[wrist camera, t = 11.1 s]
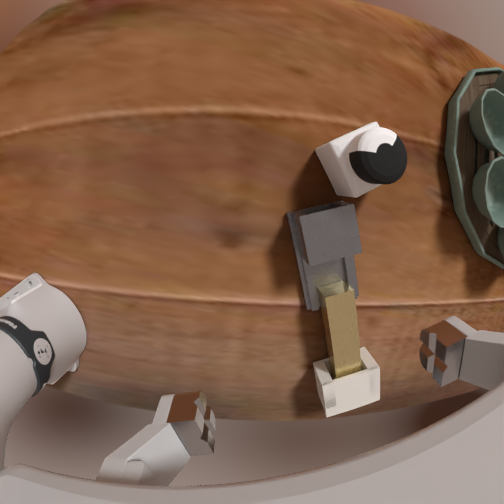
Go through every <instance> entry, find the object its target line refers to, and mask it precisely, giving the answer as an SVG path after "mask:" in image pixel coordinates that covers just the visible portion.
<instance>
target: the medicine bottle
mask: <svg viewBox="0 0 504 504" xmlns="http://www.w3.org/2000/svg"><path fill="white" fill-rule="evenodd" d="M315 152H316V154H317V156H318V158H319V160H320V162H321V164H322V166H323V168H324V170H325V172H326V174H327V176H328V178H329V180H330V182H331V184H332V186H333V188H334V190H335V192H336V194H337V195H338V196H346V197H355V198H357V197H359V196H361V195H363V194H365V193H367V192H368V191H370V190H372V189H374V188H376V187H378V186H380V185H382V184H391V183H394V182H396V181H397V180H398V179H400V177H401V176H402V175H403V173H404V171H405V169H406V166H407V153H406V149H405V146H404V144H403V142H402V140H401V139H400V138H399V137H398V136H397V135H396V134H395V133H394V132H392V131H391V130H389V129H386V128H381V127H379V125H378V123H377V122H373V123H370V124H368V125H366V126H363V127H361V128H359V129H357V130H354V131H352V132H350V133H348V134H346V135H343V136H341V137H339V138H337V139H335V140H332V141H330V142H328V143H326V144H324V145H322V146H320V147H318V148H316V149H315Z"/></svg>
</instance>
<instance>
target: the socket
mask: <svg viewBox="0 0 504 504" xmlns="http://www.w3.org/2000/svg"><path fill="white" fill-rule="evenodd" d="M360 357H361V371H359V372H356V373H353V374H350V375H347V376H344V377H341V378H338V379H334V380H333V379H332V377H331V373H330V364H329V358H326V359H323V360H319V361H316V362H313V367H314V373H315V379H316V385H317V390H318V395H319V397H320V400H321V403H322V406H323V408H324V411H325V414H326V417H329V416H333V415H336V414H339V413H343V412H346V411H349V410H352V409H355V408H358V407H361V406H364V405H366V404H369V403H372V402H375V401H377V400H380V367H379V366H378V364H377V363H376V362H375V360H374V359H373V358H372V356H371V355H370V353H369V352H368V351H367V349H366V348H365V347H362V348H360Z"/></svg>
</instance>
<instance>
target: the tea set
mask: <svg viewBox="0 0 504 504" xmlns="http://www.w3.org/2000/svg"><path fill="white" fill-rule="evenodd" d="M444 155H445V160H446V165H447V169H448V175H449V180H450V185H451V191H452V198H453V205H454V211H455V212H456V214H457V216H458V218H459V220H460V222H461V224H462V226H463V228H464V230H465V231H466V233H467V236H468V238H469V240H470V242H471V244H472V246H473V248H474V250H475V252H476V253H477V254H478V255H480V256H482V257H483V258H485V259H487V260H488V261H490V262H492V263H493V264H495V265H497V266H498V267H500V268H502V269H504V70H502V69H501V68H499V67H496V68H483V69H473V70H471V71H468V73H467V74H466V76H465V78H464V79H463V81H462V83H461V84H460V86H459V87H458V89H457V91H456V92H455V94H454V95H453V97H452V98H451V100H450V102H449V103H448V119H447V132H446V142H445V151H444Z"/></svg>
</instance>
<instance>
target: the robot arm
mask: <svg viewBox="0 0 504 504" xmlns="http://www.w3.org/2000/svg"><path fill="white" fill-rule="evenodd" d="M31 282H32V284H31ZM420 340H421V341H422V342H423V344H422V346H421V348H420V360H421V364H422V365H423V367H424V368H425V370H426V371H428V372H432V373H433V378H434V380H435V381H436V382H437V383H438V384H439V385H440V386H441V387H442V386H444V385H446V384H448V383H450V382H452V381H454V380H456V379H458V378H459V379H460V380H463V381H466V382H468V383H471V384H474V385H477V386H480V387H482V388H485V389H488V390H490V391H488V392H487V393H485V394H484V395H482V396H481V397H479V398H478V399H476V400H475V401H473V402H471V403H470V404H468V405H467V406H465V407H463V408H461V409H460V410H458V411H456V412H455V413H453V414H451V415H449V416H447V417H445V418H444V419H442V420H440V421H438V422H436V423H434V424H432V425H430V426H428V427H426V428H424V429H422V430H420V431H418V432H416V433H413V434H411V435H409V436H407V437H404V438H402V439H400V440H398V441H395V442H393V443H390V444H388V445H385V446H383V447H381V448H378V449H375V450H372V451H369V452H367V453H364V454H361V455H358V456H355V457H352V458H349V459H346V460H343V461H340V462H336V463H333V464H329V465H326V466H322V467H318V468H314V469H310V470H306V471H302V472H298V473H293V474H288V475H283V476H278V477H272V478H266V479H260V480H253V481H246V482H237V483H228V484H217V485H200V486H168V485H169V484H170V483H171V482H172V480H173V479H174V478H175V477H176V475H177V474H178V473H179V472H180V471H181V469H182V468H183V467H184V466H185V464H186V463H187V462H188V460H189V459H190V458H191V456H197V455H207V454H213V453H214V444H215V440H214V438H213V436H212V435H213V434H214V433H215V431H216V423H215V417H214V414H213V411H212V409H211V408H210V407H209V406H207V405H206V404H207V398H206V396H205V394H204V392H202V391H196V392H188V393H179V394H170V395H163V396H162V397H161V399H160V401H159V404H158V407H157V410H156V413H155V416H154V419H153V422H152V424H148V425H147V426H146V427H144V428H143V429H142V430H141V431H139V432H138V433H137V434H136V435H134V436H133V437H132V438H131V439H129V440H128V441H127V442H126V443H124V444H123V445H122V446H120V447H119V448H118V449H116V450H115V451H114V452H112V453H111V454H110V455H109V456H107V457H106V458H105V459H104V462H103V464H102V466H101V469H100V471H99V474H98V476H97V478H96V480H89V479H83V478H77V477H72V476H68V475H62V474H58V473H54V472H50V471H46V470H42V469H39V468H35V467H32V466H28V465H25V464H16V465H13V466H10V467H8V468H6V469H4V453H5V444H6V439H7V435H8V431H9V429H10V427H11V425H12V423H13V421H14V419H15V418H16V416H17V415H18V413H19V412H20V410H21V409H22V408H23V406H24V405H25V404H26V402H27V401H28V400H29V398H30V397H32V396H35V395H36V394H37V393H38V392H40V391H41V390H42V389H43V388H44V387H45V385H46V384H51V385H52V384H54V383H55V382H57V381H58V380H59V379H60V378H61V377H62V376H63V375H64V374H65V373H66V372H67V371H71V372H74V371H76V370H77V369H78V366H79V357H80V355H81V354H82V352H83V351H84V349H85V346H86V329H85V325H84V322H83V320H82V317H81V315H80V313H79V311H78V310H77V308H76V307H75V305H74V304H73V303H72V301H71V300H70V299H69V298H68V297H67V296H66V295H65V294H64V293H62V292H61V291H60V290H58V289H56V288H54V287H52V286H50V285H49V284H47V283H46V282H45V281H44V279H43V278H42V277H41V276H40V275H39V274H37V273H33V274H31V275H30V276H28V277H27V278H26V279H24V280H23V281H22V282H20V283H19V284H18V285H16V286H15V287H14V288H12V289H11V290H10V291H8V292H7V293H6V294H5V295H3V296H2V297H1V298H0V504H504V333H499V332H491V331H483V330H480V331H478V332H477V331H476V330H475V329H473V328H472V327H470V326H469V325H467V324H466V323H465V322H463V321H462V320H460V319H459V318H457V317H456V316H451V317H448V318H446V319H444V320H442V321H441V322H439V323H437V324H435V325H432V326H430V327H428V328H425V329H423V330H422V331H421V334H420Z"/></svg>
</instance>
